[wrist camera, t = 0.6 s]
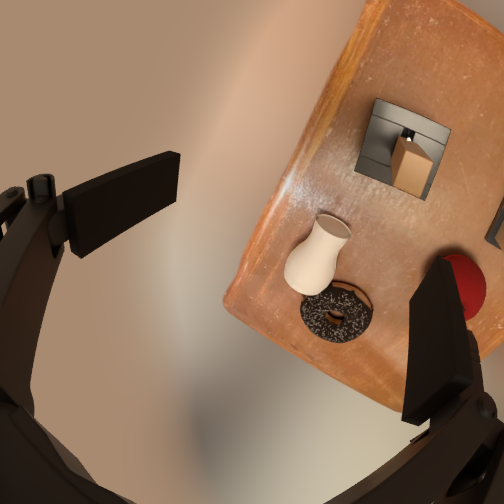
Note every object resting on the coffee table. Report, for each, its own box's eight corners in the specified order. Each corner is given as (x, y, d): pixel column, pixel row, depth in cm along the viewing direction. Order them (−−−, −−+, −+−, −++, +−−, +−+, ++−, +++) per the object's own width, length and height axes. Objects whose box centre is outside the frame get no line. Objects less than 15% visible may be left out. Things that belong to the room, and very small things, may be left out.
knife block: (377, 99, 30) (376, 97, 23) (436, 124, 28) (451, 129, 21) (360, 156, 35) (354, 171, 28) (416, 179, 33) (424, 201, 26)
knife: (395, 126, 30) (406, 146, 15) (410, 132, 30) (435, 159, 15) (388, 148, 32) (391, 189, 17) (402, 154, 31) (418, 201, 16)
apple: (485, 248, 32) (504, 287, 24) (470, 300, 36) (480, 345, 28) (429, 240, 36) (437, 279, 28) (418, 294, 40) (419, 339, 32)
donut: (360, 339, 48) (356, 355, 45) (298, 318, 52) (291, 333, 49) (381, 291, 42) (379, 306, 39) (310, 268, 46) (303, 282, 43)
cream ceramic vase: (316, 203, 41) (290, 256, 47) (303, 222, 35) (274, 280, 41) (360, 228, 39) (329, 278, 45) (354, 251, 34) (318, 305, 40)
